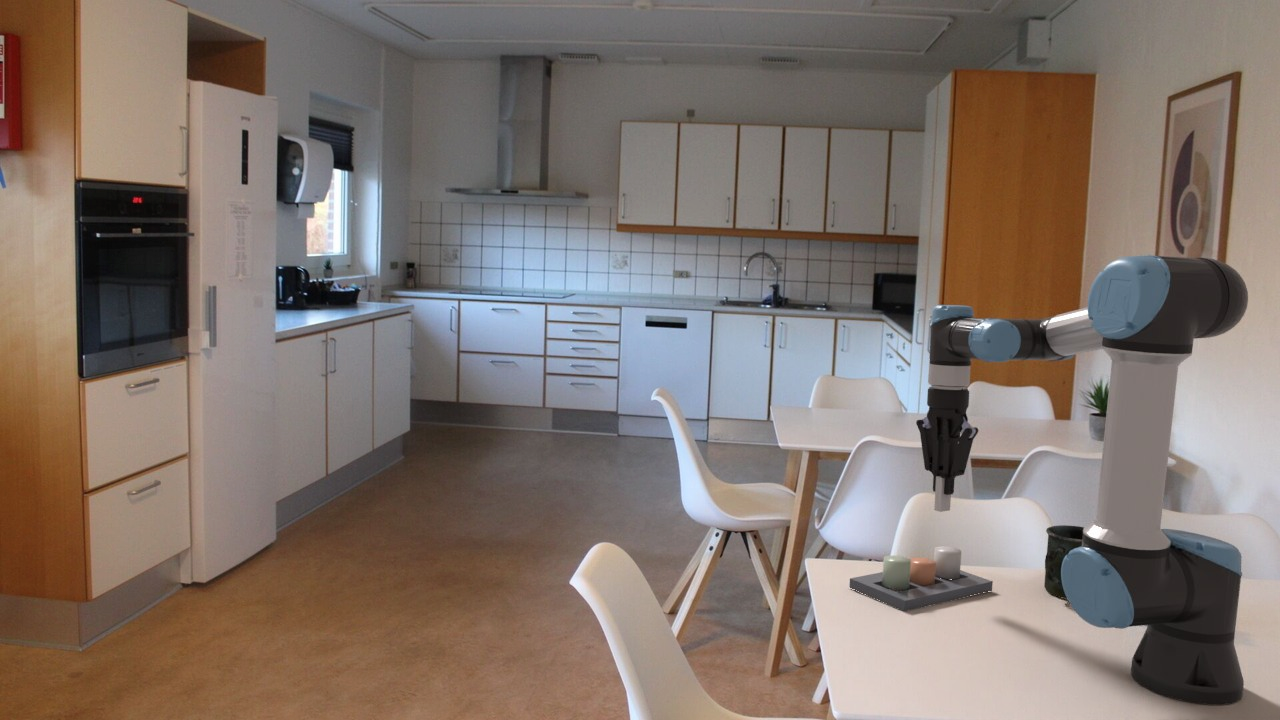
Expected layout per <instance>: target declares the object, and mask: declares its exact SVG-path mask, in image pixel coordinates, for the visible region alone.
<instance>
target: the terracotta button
mask: <svg viewBox="0 0 1280 720" xmlns="http://www.w3.org/2000/svg"><path fill="white" fill-rule="evenodd" d="M909 559H910V560H911V569H910V582H911V583H914V584H917V585H919V586H922V587H924V586H929V585H934V584H935V574H936V562H935V561H934V559H931V558H927V557H912V558H909Z"/></svg>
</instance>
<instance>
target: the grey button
mask: <svg viewBox="0 0 1280 720" xmlns="http://www.w3.org/2000/svg"><path fill="white" fill-rule="evenodd" d="M933 554H934V556H933V560H934V561H935V562H936V574H935V576H937V577H941V578H942V579H945V578H946V579H945V580H948V579H956V578H959V577H960V570H961V564H962V563H961V562H962V550H961V549H960V548H957V547H953V546H946V545H945V546H943V545H942V546H941V545H940V546H935V547H934V553H933Z"/></svg>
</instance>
